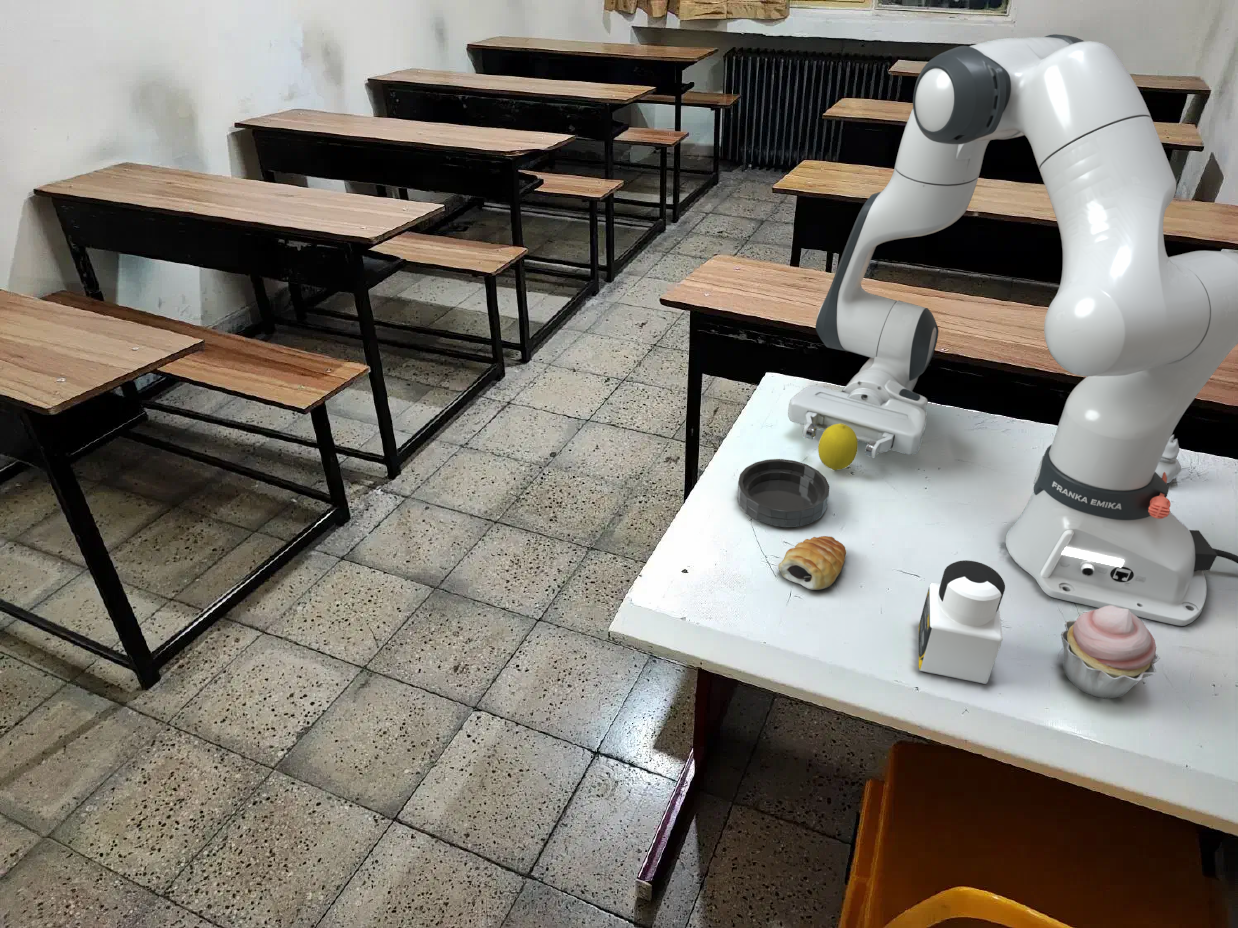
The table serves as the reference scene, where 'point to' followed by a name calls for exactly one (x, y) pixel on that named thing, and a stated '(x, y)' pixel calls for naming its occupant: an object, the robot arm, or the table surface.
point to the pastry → (814, 562)
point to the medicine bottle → (962, 623)
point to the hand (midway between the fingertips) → (838, 443)
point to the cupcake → (1108, 651)
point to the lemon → (838, 446)
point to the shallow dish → (783, 492)
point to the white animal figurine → (1169, 461)
